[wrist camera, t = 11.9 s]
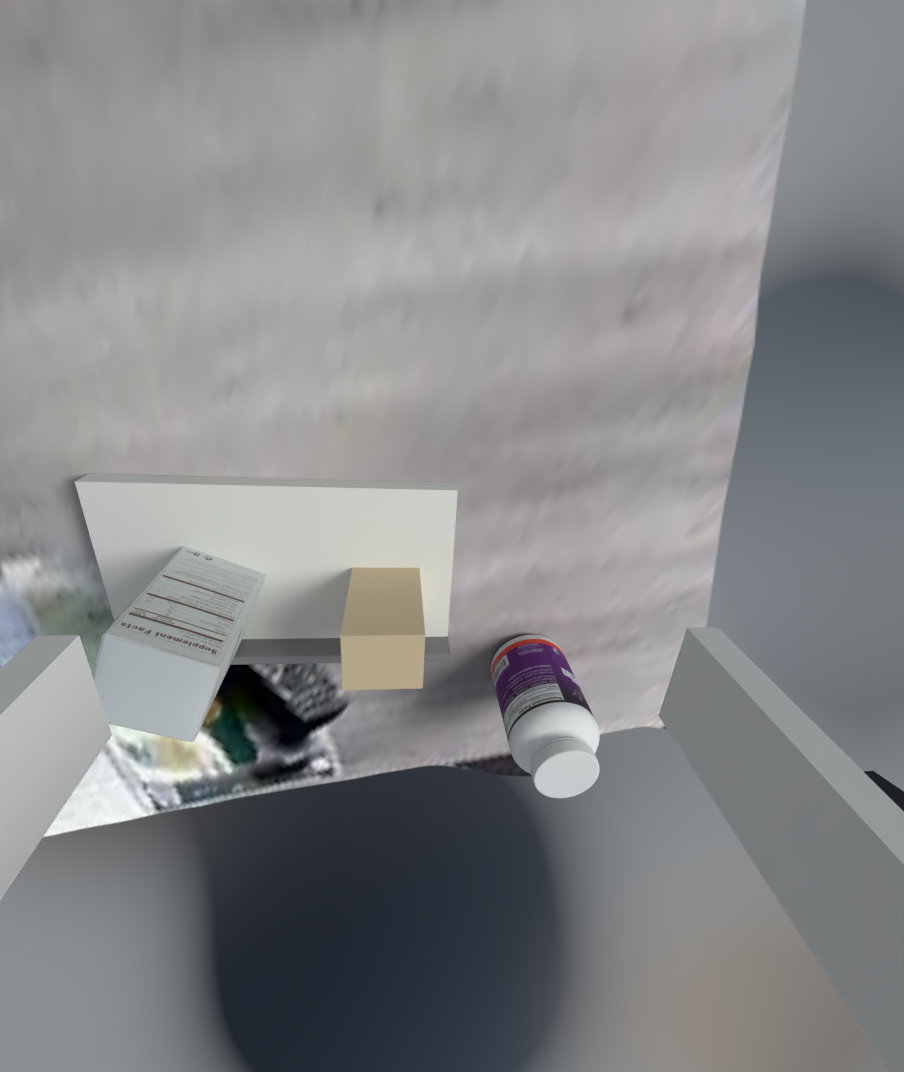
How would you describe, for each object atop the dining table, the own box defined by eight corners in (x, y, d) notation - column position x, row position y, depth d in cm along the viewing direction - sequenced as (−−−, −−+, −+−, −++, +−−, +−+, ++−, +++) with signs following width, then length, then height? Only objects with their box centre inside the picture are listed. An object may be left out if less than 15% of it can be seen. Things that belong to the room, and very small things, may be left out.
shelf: (89, 473, 39) (52, 492, 35) (455, 482, 42) (461, 501, 38) (133, 636, 46) (106, 668, 42) (445, 632, 49) (449, 662, 45)
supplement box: (245, 636, 45) (193, 747, 33) (161, 610, 43) (75, 719, 31) (270, 572, 42) (223, 669, 31) (182, 542, 40) (97, 633, 29)
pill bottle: (566, 677, 54) (620, 794, 41) (497, 696, 54) (529, 819, 41) (555, 620, 50) (610, 729, 37) (481, 641, 50) (510, 756, 37)
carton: (352, 567, 43) (340, 636, 34) (419, 567, 43) (425, 634, 34) (353, 615, 45) (342, 692, 36) (417, 615, 46) (422, 689, 37)
